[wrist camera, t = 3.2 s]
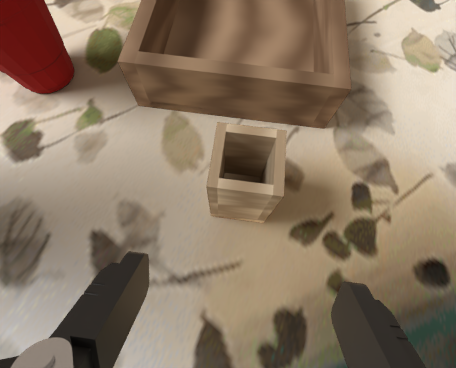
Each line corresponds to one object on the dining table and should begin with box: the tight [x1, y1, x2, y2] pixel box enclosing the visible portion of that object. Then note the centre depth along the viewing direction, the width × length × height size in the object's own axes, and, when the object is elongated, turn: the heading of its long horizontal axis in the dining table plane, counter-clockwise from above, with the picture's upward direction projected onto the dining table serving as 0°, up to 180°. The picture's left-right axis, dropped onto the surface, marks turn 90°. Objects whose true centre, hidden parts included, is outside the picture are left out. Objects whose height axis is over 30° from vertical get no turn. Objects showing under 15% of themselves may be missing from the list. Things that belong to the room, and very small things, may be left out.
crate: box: [118, 0, 351, 128], centre depth 28 cm, size 21×22×6 cm
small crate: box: [207, 122, 287, 223], centre depth 20 cm, size 5×5×8 cm
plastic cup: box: [0, 0, 74, 94], centre depth 23 cm, size 11×11×12 cm
